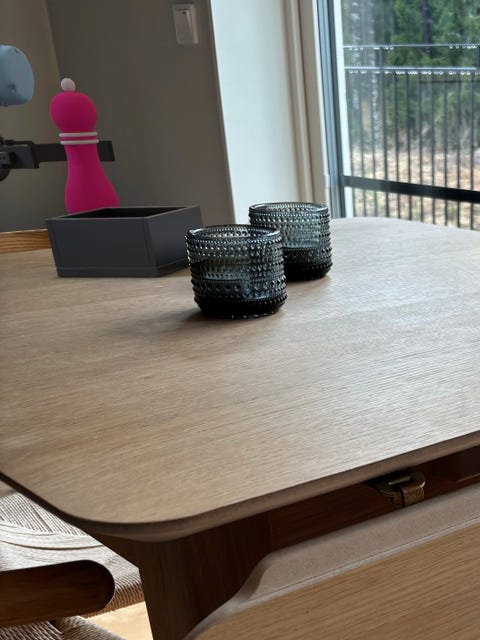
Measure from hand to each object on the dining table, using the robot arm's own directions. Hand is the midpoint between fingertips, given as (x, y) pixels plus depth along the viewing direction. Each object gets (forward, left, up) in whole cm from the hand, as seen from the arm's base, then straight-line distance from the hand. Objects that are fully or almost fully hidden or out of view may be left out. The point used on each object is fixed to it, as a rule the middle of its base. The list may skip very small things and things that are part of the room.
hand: (74, 154), depth 136 cm
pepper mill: (+1, 0, -11) cm, 11 cm away
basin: (+22, -27, -11) cm, 37 cm away
